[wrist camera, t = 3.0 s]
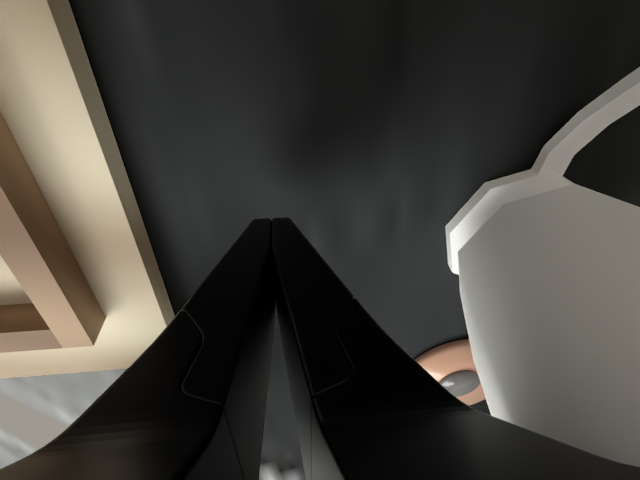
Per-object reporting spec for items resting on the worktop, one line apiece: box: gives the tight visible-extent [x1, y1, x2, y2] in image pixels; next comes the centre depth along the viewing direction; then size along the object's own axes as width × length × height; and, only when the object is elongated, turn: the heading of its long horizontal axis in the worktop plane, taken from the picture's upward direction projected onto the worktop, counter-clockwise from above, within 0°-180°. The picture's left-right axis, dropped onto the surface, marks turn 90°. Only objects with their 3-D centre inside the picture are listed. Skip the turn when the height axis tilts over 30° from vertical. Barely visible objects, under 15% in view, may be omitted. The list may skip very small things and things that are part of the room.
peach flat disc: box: [414, 339, 486, 406], centre depth 16 cm, size 5×5×1 cm
